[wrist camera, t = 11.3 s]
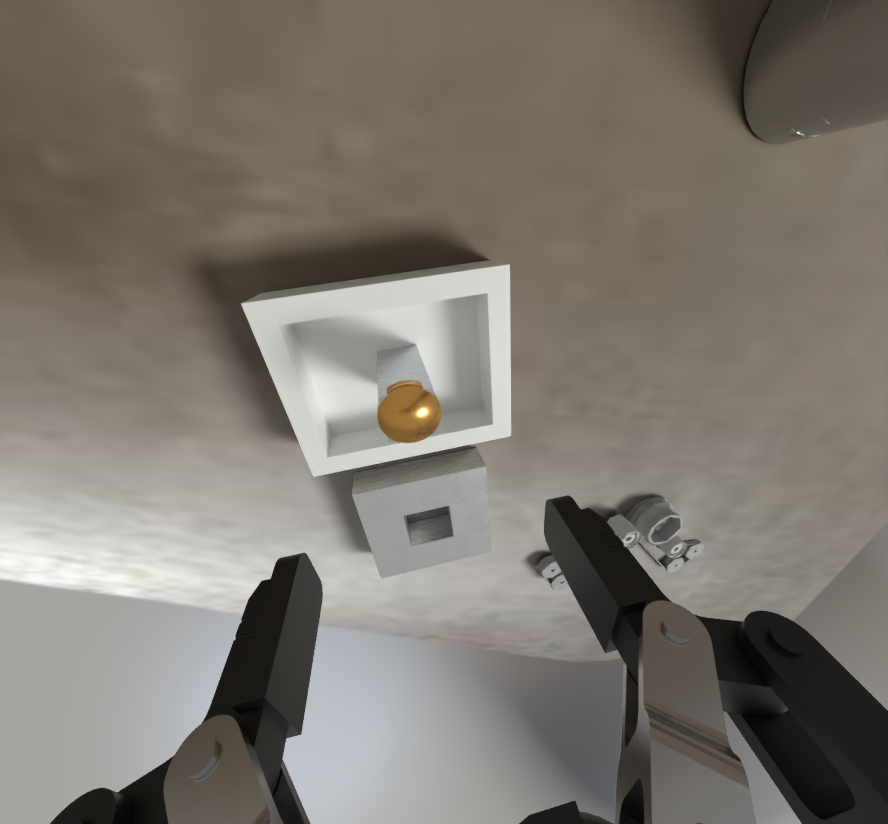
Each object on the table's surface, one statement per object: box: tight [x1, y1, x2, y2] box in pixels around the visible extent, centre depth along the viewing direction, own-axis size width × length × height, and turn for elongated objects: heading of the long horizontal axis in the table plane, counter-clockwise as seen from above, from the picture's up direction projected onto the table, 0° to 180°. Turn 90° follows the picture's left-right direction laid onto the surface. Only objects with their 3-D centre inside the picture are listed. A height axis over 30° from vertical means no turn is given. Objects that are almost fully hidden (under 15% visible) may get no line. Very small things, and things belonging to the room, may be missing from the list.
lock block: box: [352, 447, 491, 578], centre depth 32 cm, size 12×12×3 cm
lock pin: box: [377, 345, 442, 443], centre depth 21 cm, size 4×4×8 cm
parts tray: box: [241, 260, 511, 477], centre depth 24 cm, size 13×16×4 cm
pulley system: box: [537, 496, 705, 590], centre depth 43 cm, size 27×5×15 cm
